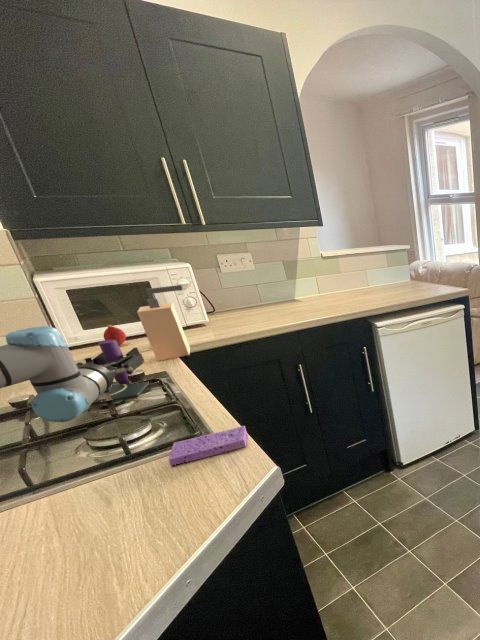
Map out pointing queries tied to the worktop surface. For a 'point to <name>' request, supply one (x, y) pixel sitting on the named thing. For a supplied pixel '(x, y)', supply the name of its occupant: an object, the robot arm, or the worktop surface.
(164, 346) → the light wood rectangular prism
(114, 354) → the cylinder
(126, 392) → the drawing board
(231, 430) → the sponge
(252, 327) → the worktop surface
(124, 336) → the red rounded lump
